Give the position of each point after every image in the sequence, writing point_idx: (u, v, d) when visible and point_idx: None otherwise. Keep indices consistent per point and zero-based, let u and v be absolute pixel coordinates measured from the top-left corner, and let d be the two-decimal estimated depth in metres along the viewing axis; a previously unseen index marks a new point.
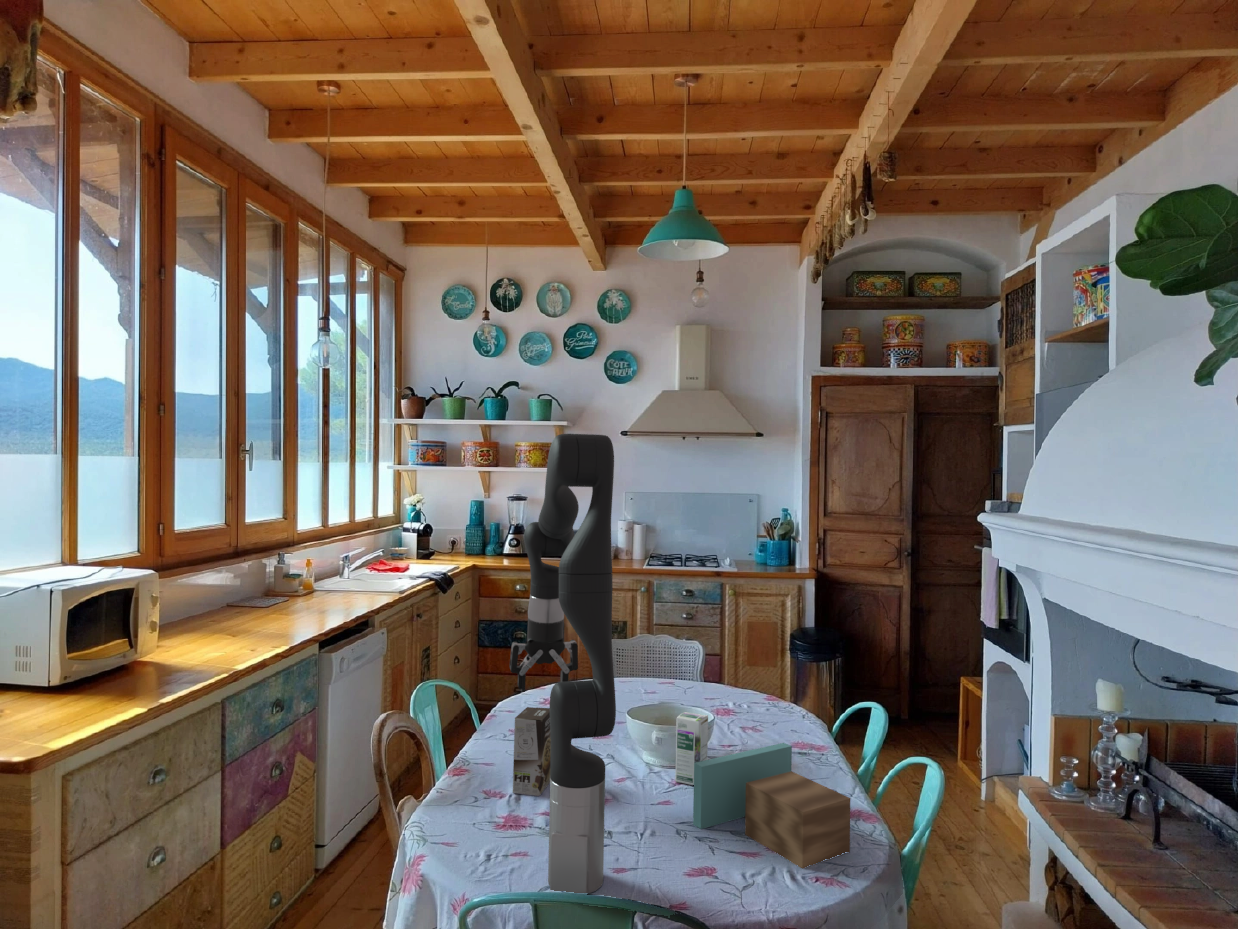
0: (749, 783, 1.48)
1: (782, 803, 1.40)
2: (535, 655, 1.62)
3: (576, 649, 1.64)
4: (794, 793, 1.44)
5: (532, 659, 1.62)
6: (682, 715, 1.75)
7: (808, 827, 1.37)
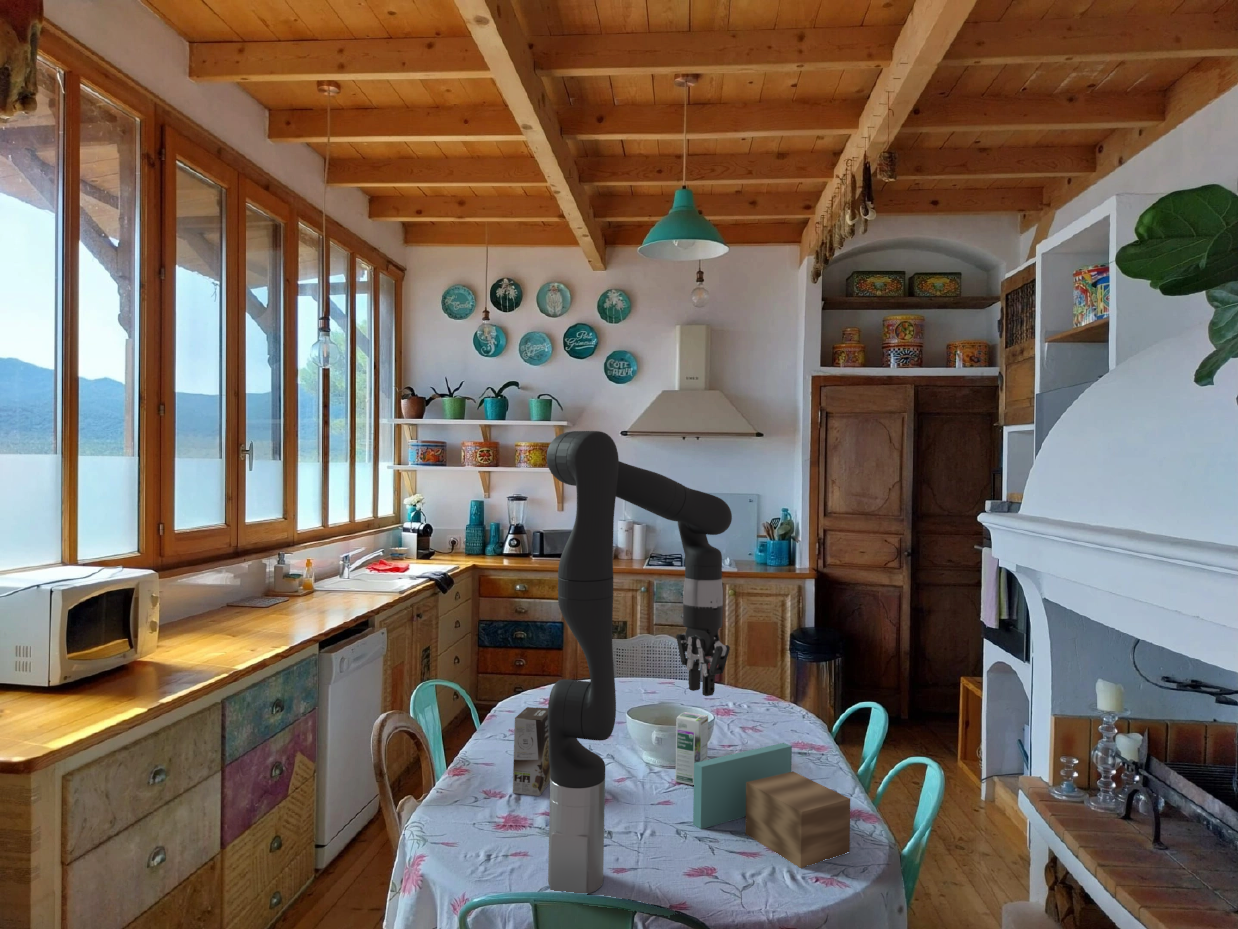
0: (749, 782, 1.49)
1: (781, 803, 1.40)
2: (688, 644, 1.49)
3: (717, 653, 1.42)
4: (794, 793, 1.44)
5: (688, 649, 1.49)
6: (682, 715, 1.75)
7: (807, 827, 1.37)
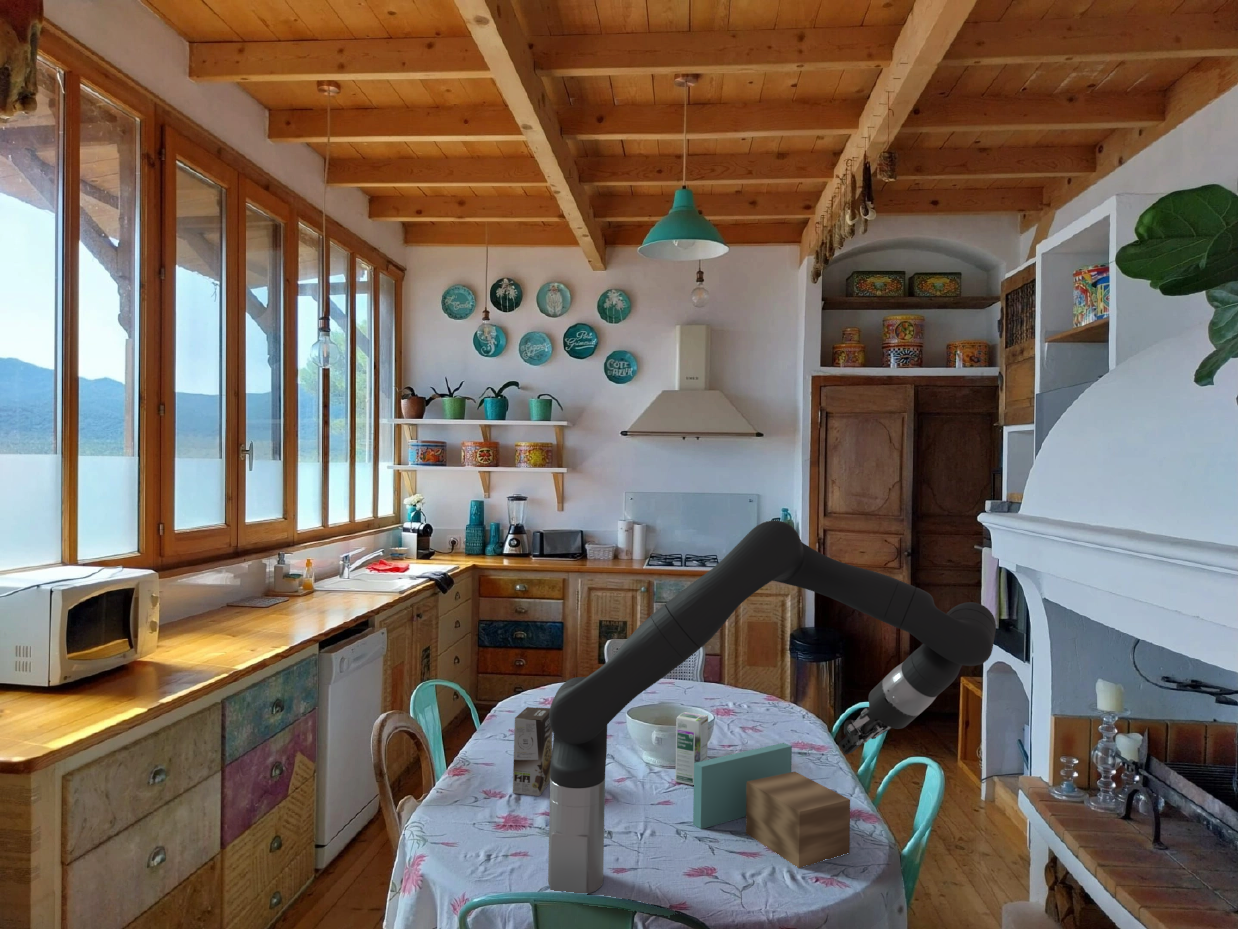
0: (750, 782, 1.49)
1: (779, 803, 1.41)
2: None
3: None
4: (793, 792, 1.44)
5: None
6: (682, 715, 1.75)
7: (805, 827, 1.37)
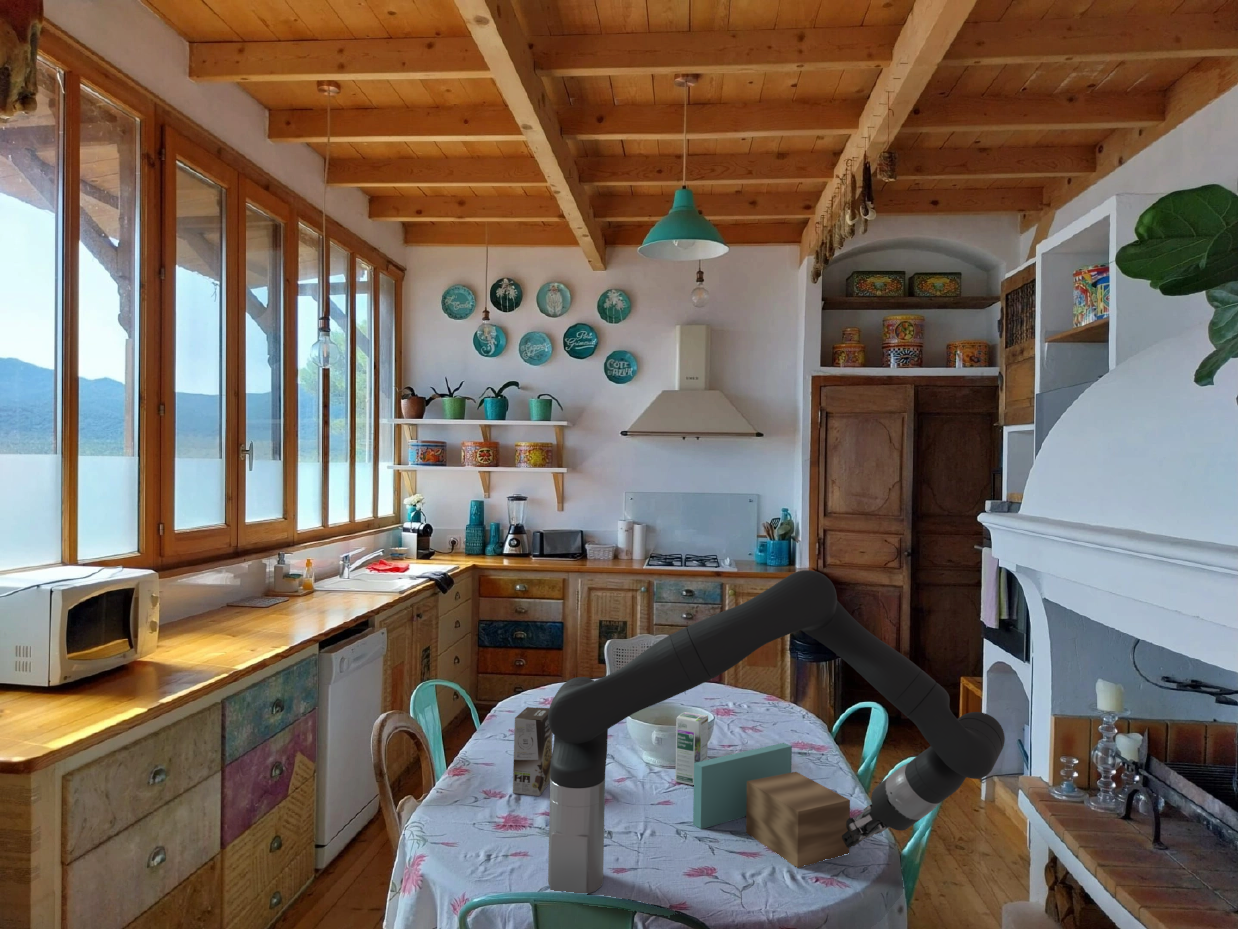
0: (750, 782, 1.49)
1: (779, 802, 1.41)
2: None
3: None
4: (793, 792, 1.44)
5: None
6: (682, 715, 1.75)
7: (804, 827, 1.37)
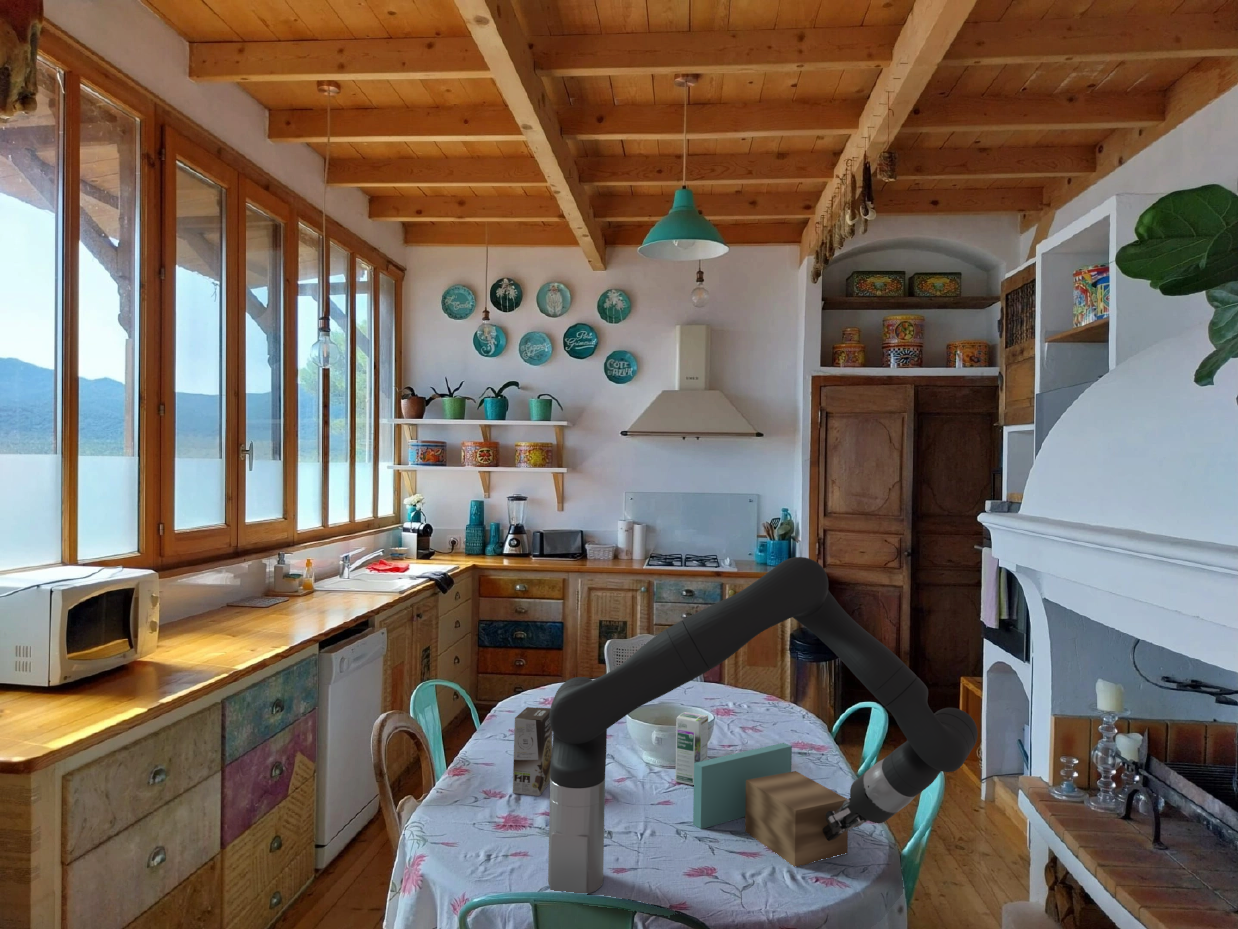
0: (749, 780, 1.50)
1: (777, 801, 1.41)
2: None
3: None
4: (792, 792, 1.45)
5: None
6: (682, 715, 1.75)
7: (801, 826, 1.37)
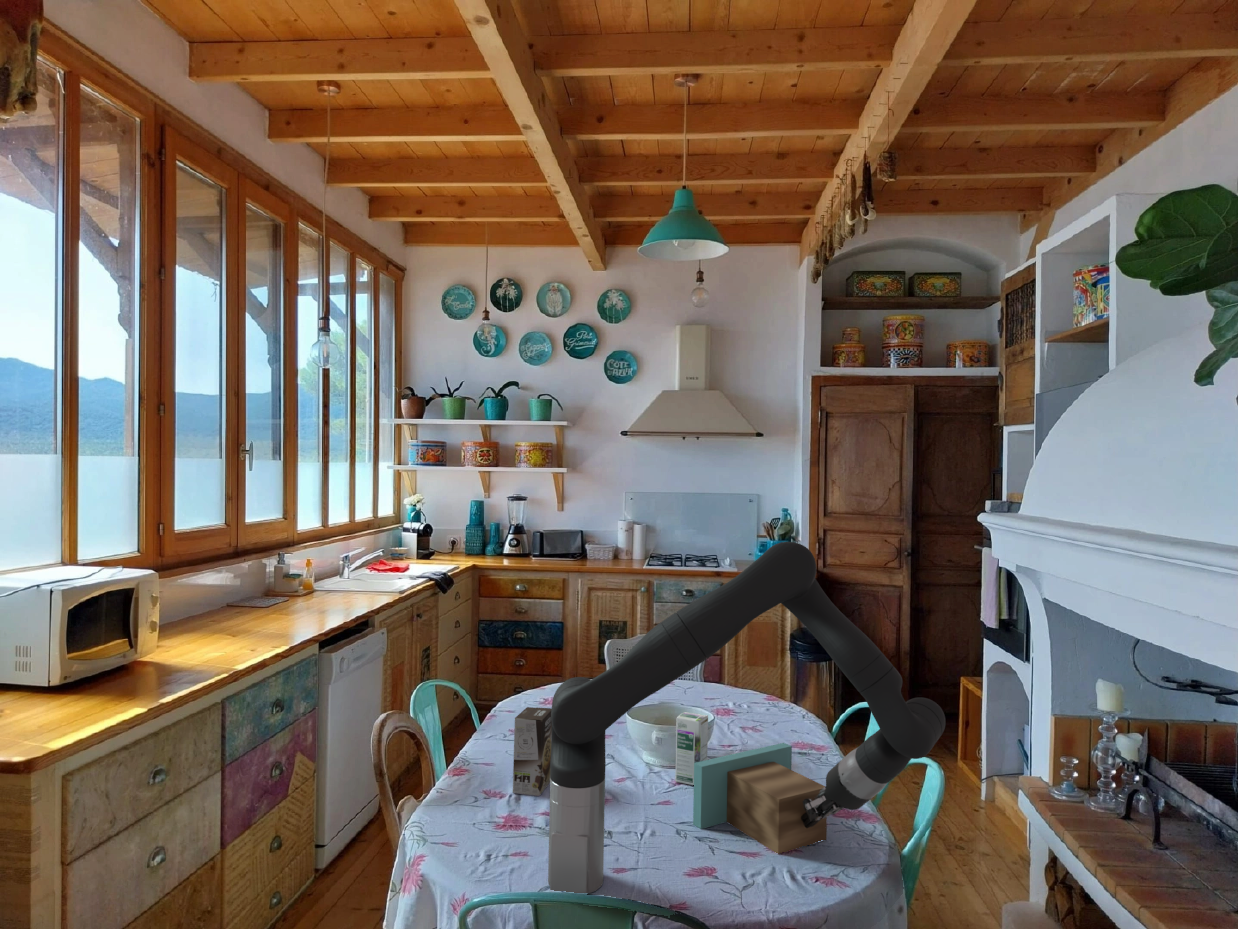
0: (730, 772, 1.54)
1: (759, 791, 1.45)
2: None
3: None
4: (773, 781, 1.49)
5: None
6: (682, 715, 1.75)
7: (784, 814, 1.42)
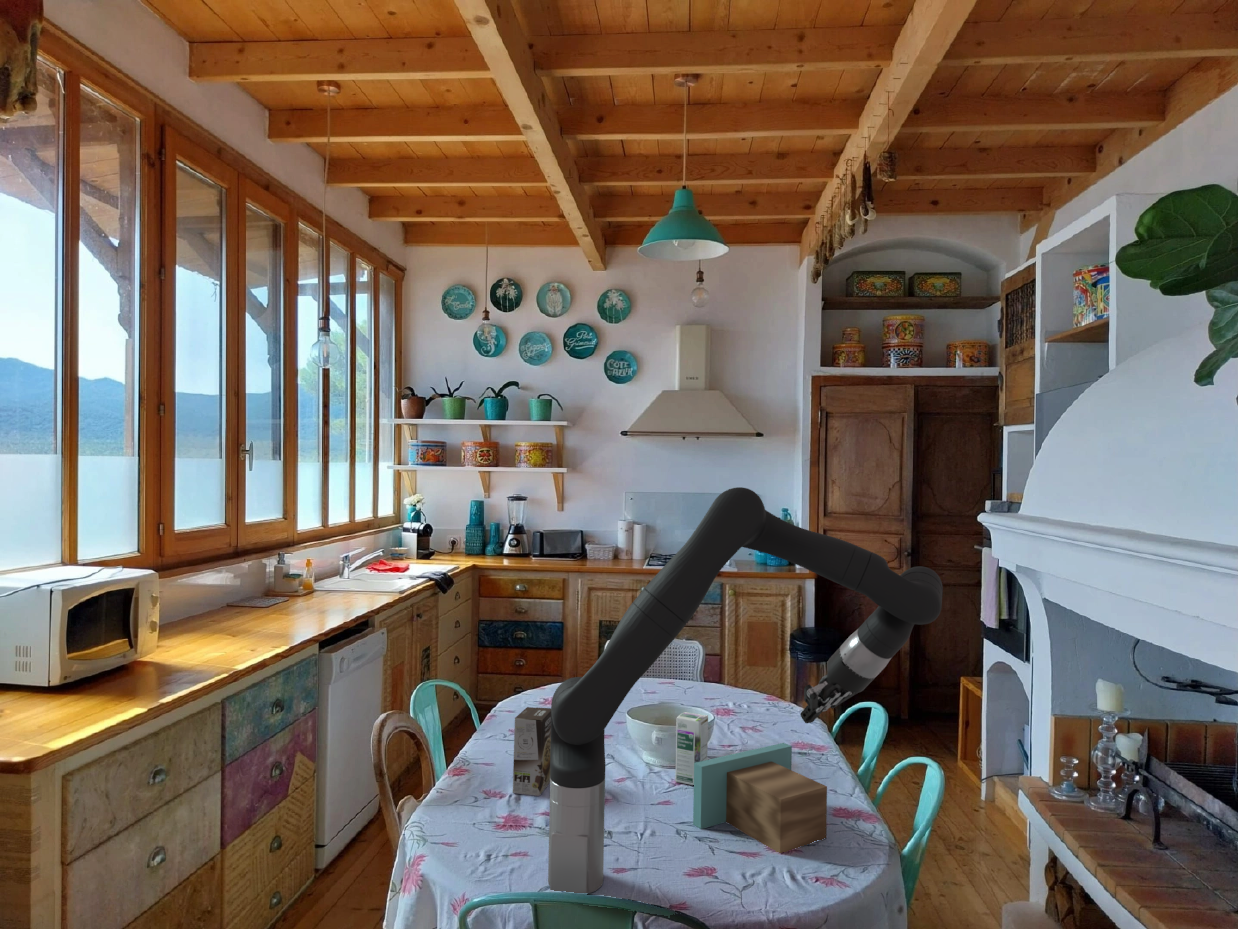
0: (730, 772, 1.53)
1: (760, 791, 1.46)
2: None
3: None
4: (773, 781, 1.49)
5: None
6: (682, 715, 1.75)
7: (786, 814, 1.42)
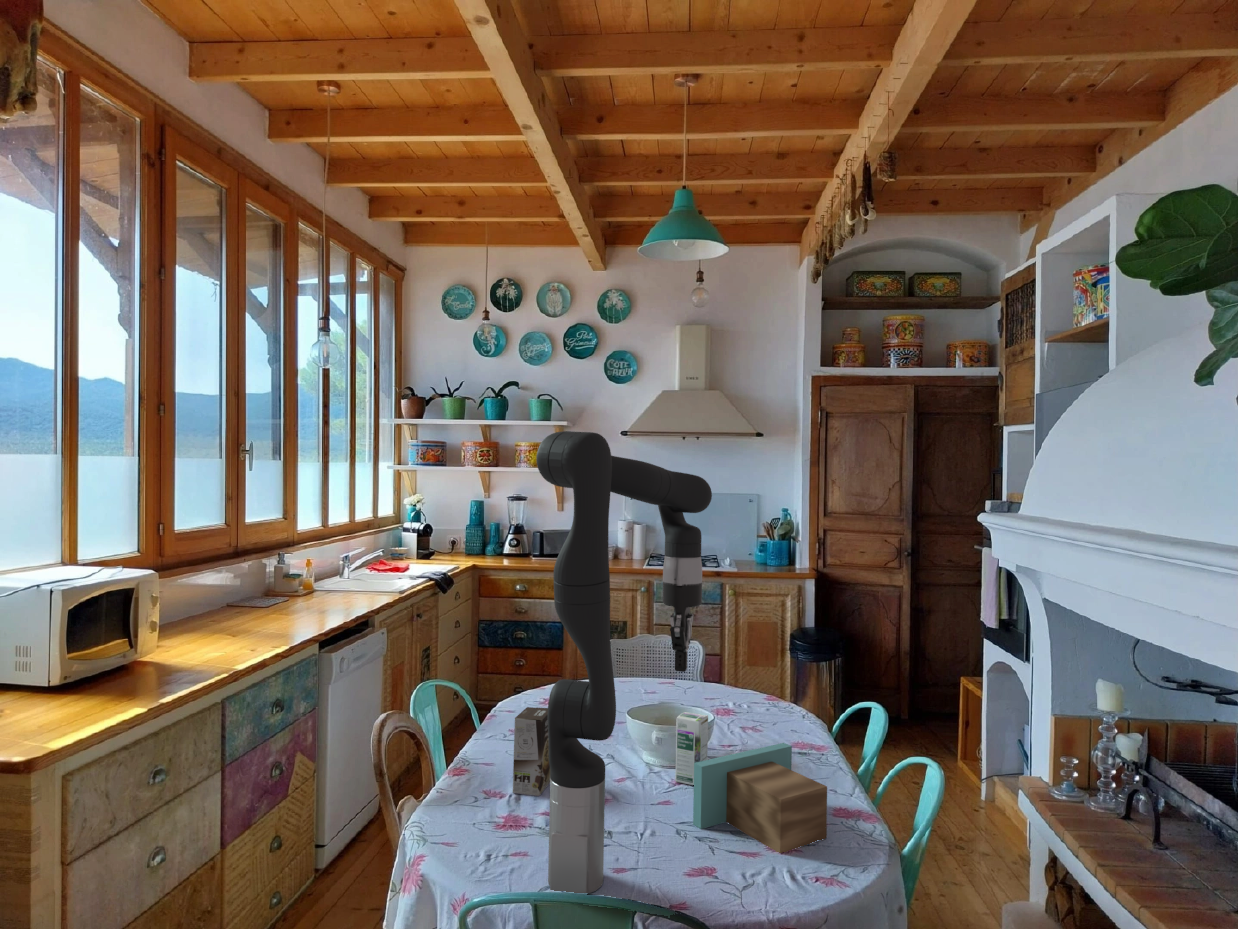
0: (730, 772, 1.54)
1: (760, 791, 1.46)
2: None
3: None
4: (773, 781, 1.49)
5: None
6: (682, 715, 1.75)
7: (786, 814, 1.42)
